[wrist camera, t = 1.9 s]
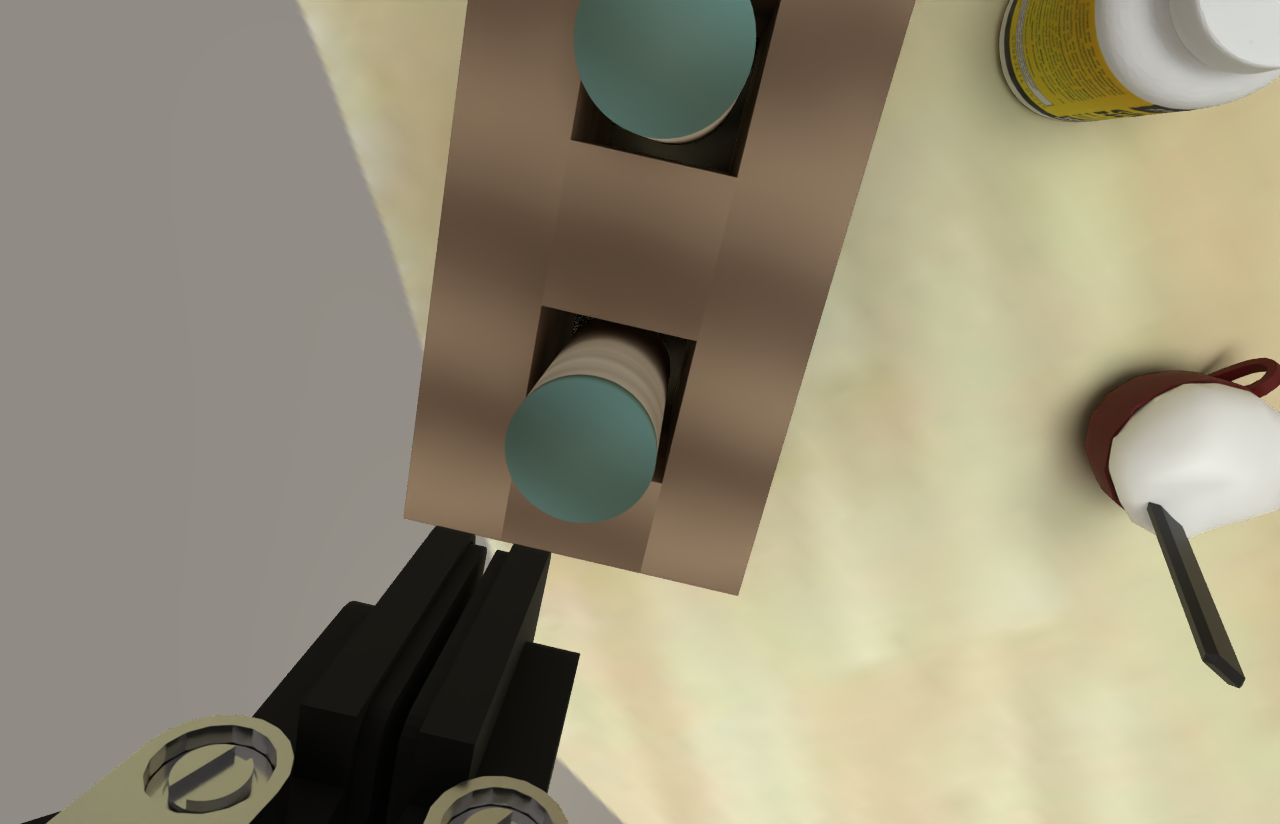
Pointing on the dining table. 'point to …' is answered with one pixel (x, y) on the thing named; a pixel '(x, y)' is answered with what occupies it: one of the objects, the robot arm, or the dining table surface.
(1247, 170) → the dining table surface
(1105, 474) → the cocoa
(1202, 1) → the pill bottle
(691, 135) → the peg
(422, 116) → the dining table surface
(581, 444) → the peg
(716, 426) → the socket block
